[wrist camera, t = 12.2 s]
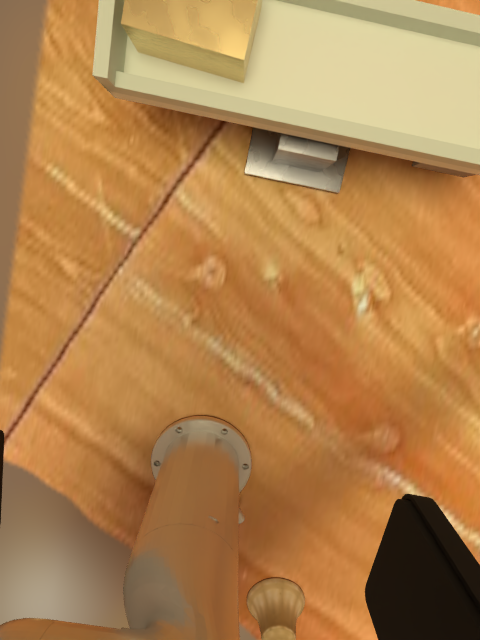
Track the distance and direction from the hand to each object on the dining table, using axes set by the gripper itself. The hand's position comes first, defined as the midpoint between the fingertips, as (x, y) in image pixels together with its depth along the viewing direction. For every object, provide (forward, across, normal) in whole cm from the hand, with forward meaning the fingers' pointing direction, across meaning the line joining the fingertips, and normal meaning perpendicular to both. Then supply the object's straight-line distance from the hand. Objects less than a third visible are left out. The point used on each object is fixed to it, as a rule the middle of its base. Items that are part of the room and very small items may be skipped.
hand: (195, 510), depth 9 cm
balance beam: (+29, -4, -19) cm, 35 cm away
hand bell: (+35, -15, +44) cm, 57 cm away
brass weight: (+24, +6, -19) cm, 31 cm away
